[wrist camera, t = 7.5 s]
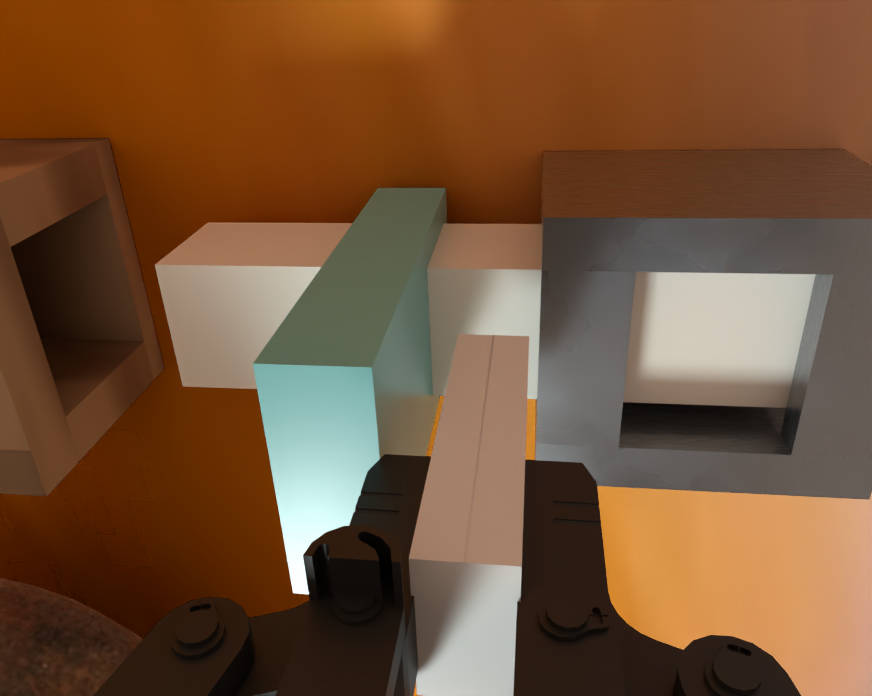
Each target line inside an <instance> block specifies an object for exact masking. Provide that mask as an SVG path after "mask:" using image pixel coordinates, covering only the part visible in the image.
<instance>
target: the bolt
mask: <svg viewBox="0 0 872 696" xmlns="http://www.w3.org/2000/svg"><path fill="white" fill-rule="evenodd" d="M541 262H542V224H447V201H446V188H377V190H376V191H375V192H374V194H373V195H372V197H371V198H370V199H369V201H368V202H367V204H366V205H365V207H364V208H363V209H362V211H361V212H360V214H359V215H358V216H357V218H356V219H355V221H354V222H353V223H233V222H208V223H207V224H205V225H204V226H203V227H202V228H200V229H199V230H198V231H197V232H195V233H194V234H193V235H191V236H190V237H189V238H188V239H186V240H185V241H184V242H183V243H181V244H180V245H179V246H178V247H176V248H175V249H174V250H173V251H171V252H170V253H169V254H168V255H166V256H165V257H164V258H163V259H161V260H160V261H159V262H157V263H156V264H155V269H156V273H157V277H158V282H159V286H160V290H161V295H162V299H163V303H164V308H165V312H166V316H167V321H168V325H169V329H170V334H171V338H172V342H173V347H174V351H175V355H176V360H177V364H178V368H179V373H180V377H181V381H182V385H183V387H212V388H240V389H257V391H258V397H259V402H260V408H261V414H262V419H263V425H264V431H265V436H266V442H267V448H268V453H269V459H270V465H271V470H272V476H273V482H274V487H275V493H276V499H277V504H278V510H279V516H280V521H281V527H282V533H283V538H284V544H285V550H286V556H287V561H288V567H289V573H290V578H291V584H292V590H293V593H297V594H309V592H308V585H307V579H306V572H305V566H304V559H303V555H304V553H305V552H306V550H307V549H308V547H309V546H310V544H311V543H312V542H313V541H314V540H316V539H317V538H319V537H320V536H321V535H323V534H324V533H326V532H328V531H331V530H334V529H337V528H340V527H342V526H349V525H350V522H351V519H352V516H353V513H354V512H355V507H356V504H357V501H358V498H359V495H361V489H362V486H363V483H364V480H365V477H366V474H367V471H368V470H369V469H370V468H371V467H372V466H373V465H374V464H375V463H376V462H377V461H378V460H379V459H380V458H381V457H382V456H383V455H384V454H392V455H411V456H426V454H427V449H428V445H429V441H430V436H431V432H432V428H433V423H434V419H435V415H436V410H437V406H438V402H439V398H440V396H445V392H446V387H447V383H448V378H449V374H450V369H451V365H452V360H453V356H454V351H455V347H456V342H457V338H458V334H474V335H505V336H529V360H528V390H527V399H537V384H538V353H539V323H540V293H541ZM815 275H816V274H757V273H681V272H636V275H635V286H634V296H633V306H632V316H631V326H630V337H629V347H628V357H627V367H626V377H625V388H624V398H623V402H633V403H662V404H690V405H718V406H746V407H774V408H786V406H787V402H788V397H789V393H790V388H791V384H792V379H793V375H794V370H795V366H796V361H797V357H798V352H799V348H800V343H801V339H802V334H803V330H804V325H805V320H806V316H807V311H808V307H809V302H810V298H811V293H812V289H813V284H814V280H815Z"/></svg>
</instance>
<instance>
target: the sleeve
mask: <svg viewBox="0 0 872 696" xmlns="http://www.w3.org/2000/svg"><path fill="white" fill-rule="evenodd" d="M541 224H542V262H541V293H540V323H539V353H538V384H537V399H536V416H535V460H541V461H560V462H578V463H583V464H584V466H585V467H586V468H587V470H588V471H589V472H590V474H591V475H592V477H593V478H594V479H595V481H596V482H597V486H611V487H631V488H651V489H671V490H691V491H711V492H731V493H751V494H771V495H791V496H811V497H831V498H851V499H870V495H871V492H872V166H870V165H868V164H867V163H865V162H864V161H862V160H861V159H859V158H857V157H856V156H854V155H853V154H851V153H849V152H848V151H846V150H845V149H792V150H662V151H543V164H542V196H541ZM636 272H681V273H757V274H816V275H815V280H814V284H813V289H812V293H811V298H810V302H809V307H808V311H807V316H806V320H805V325H804V330H803V334H802V339H801V343H800V348H799V352H798V357H797V361H796V366H795V370H794V375H793V379H792V384H791V388H790V393H789V397H788V402H787V406H786V408H774V407H746V406H718V405H690V404H662V403H633V402H623V398H624V388H625V377H626V367H627V357H628V347H629V337H630V326H631V316H632V306H633V296H634V286H635V275H636Z"/></svg>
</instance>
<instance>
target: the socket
mask: <svg viewBox="0 0 872 696" xmlns="http://www.w3.org/2000/svg"><path fill="white" fill-rule="evenodd" d="M163 370H164V364H163V360H162V356H161V352H160V348H159V344H158V340H157V335H156V331H155V327H154V323H153V319H152V315H151V311H150V306H149V302H148V298H147V294H146V290H145V286H144V282H143V278H142V273H141V269H140V265H139V261H138V257H137V253H136V249H135V244H134V240H133V236H132V232H131V228H130V224H129V220H128V215H127V211H126V207H125V203H124V199H123V195H122V191H121V186H120V182H119V178H118V174H117V170H116V166H115V162H114V157H113V153H112V149H111V145H110V141H109V138H66V139H0V494H14V495H32V496H48V495H49V494H50V493H51V492H52V491H53V489H54V488H55V487H56V486H57V485H58V484H59V483H60V482H61V481H62V480H63V479H64V477H65V476H66V475H67V474H68V473H69V472H70V471H71V470H72V469H73V468H74V467H75V465H76V464H77V463H78V462H79V461H80V460H81V459H82V458H83V457H84V456H85V455H86V453H87V452H88V451H89V450H90V449H91V448H92V447H93V446H94V445H95V444H96V443H97V441H98V440H99V439H100V438H101V437H102V436H103V435H104V434H105V433H106V432H107V431H108V430H109V428H110V427H111V426H112V425H113V424H114V423H115V422H116V421H117V420H118V419H119V418H120V416H121V415H122V414H123V413H124V412H125V411H126V410H127V409H128V408H129V407H130V406H131V404H132V403H133V402H134V401H135V400H136V399H137V398H138V397H139V396H140V395H141V394H142V392H143V391H144V390H145V389H146V388H147V387H148V386H149V385H150V384H151V383H152V382H153V380H154V379H155V378H156V377H157V376H158V375H159V374H160V373H161V372H162V371H163Z"/></svg>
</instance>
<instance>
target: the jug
mask: <svg viewBox="0 0 872 696" xmlns="http://www.w3.org/2000/svg"><path fill="white" fill-rule="evenodd" d="M142 640H143V638H141V637H140V636H138V635H137V634H136V633H134V632H132V631H131V630H129V629H127V628H125V627H124V626H122V625H120V624H119V623H117V622H115V621H113V620H112V619H110V618H108V617H107V616H105V615H103V614H101V613H99V612H98V611H96V610H94V609H92V608H90V607H88V606H86V605H84V604H82V603H80V602H78V601H76V600H74V599H71V598H68V597H65V596H63V595H60V594H57V593H54V592H51V591H48V590H45V589H43V588H40V587H37V586H34V585H29V584H25V583H21V582H17V581H13V580H9V579H4V578H0V696H93V695H94V694H95V693H96V692H97V691H98V689H99V688H100V687H101V686H102V685H103V684H104V683H105V682H106V680H107V679H108V678H109V677H110V676H111V675H112V674H113V672H114V671H115V670H116V669H117V668H118V667H119V666H120V665H121V663H122V662H123V661H124V660H125V659H126V658H127V657H128V656H129V654H130V653H131V652H132V651H133V650H134V649H135V648H136V646H137V645H138V644H139V643H140V642H141V641H142Z"/></svg>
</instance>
